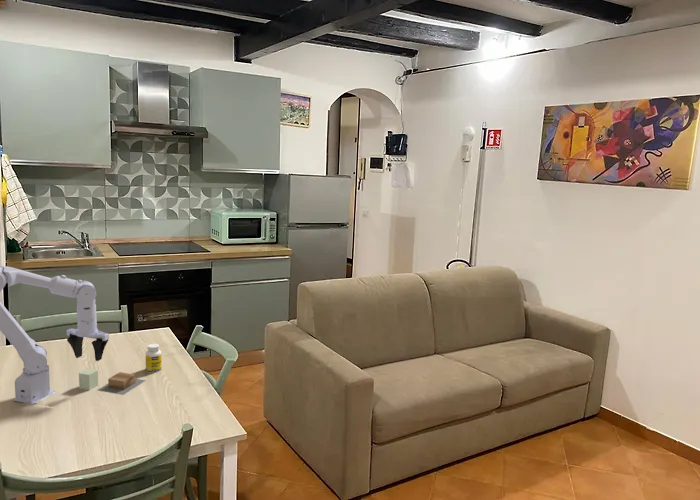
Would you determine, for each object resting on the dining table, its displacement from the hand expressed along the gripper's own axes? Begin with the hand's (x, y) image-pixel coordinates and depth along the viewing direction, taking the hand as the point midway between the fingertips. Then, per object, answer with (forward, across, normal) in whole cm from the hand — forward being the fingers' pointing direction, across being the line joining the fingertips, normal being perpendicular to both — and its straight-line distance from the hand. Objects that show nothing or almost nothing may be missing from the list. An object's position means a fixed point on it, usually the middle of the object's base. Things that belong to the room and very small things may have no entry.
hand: (88, 358), depth 181 cm
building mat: (+10, -9, -4) cm, 15 cm away
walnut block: (+10, -9, -4) cm, 14 cm away
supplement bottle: (+11, -11, -19) cm, 25 cm away
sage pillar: (+10, 0, 0) cm, 10 cm away
